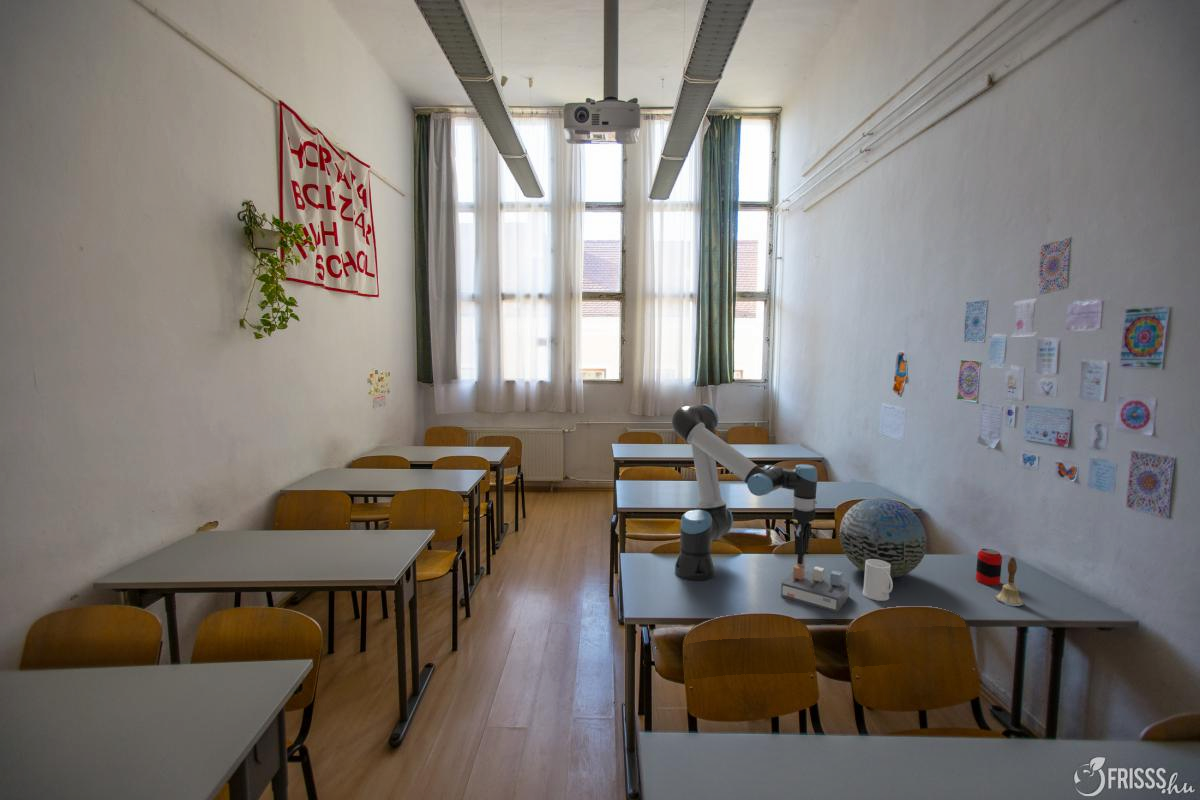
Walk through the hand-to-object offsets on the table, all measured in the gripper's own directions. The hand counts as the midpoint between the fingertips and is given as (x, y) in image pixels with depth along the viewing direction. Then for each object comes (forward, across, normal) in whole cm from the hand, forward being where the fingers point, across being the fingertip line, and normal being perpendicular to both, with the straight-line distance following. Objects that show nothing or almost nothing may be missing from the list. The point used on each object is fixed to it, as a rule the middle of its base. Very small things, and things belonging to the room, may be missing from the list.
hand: (800, 571), depth 203 cm
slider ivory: (+2, 0, -6) cm, 6 cm away
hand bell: (+7, +36, -62) cm, 72 cm away
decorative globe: (+7, +33, -21) cm, 39 cm away
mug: (+7, +11, -24) cm, 27 cm away
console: (+7, -2, -6) cm, 9 cm away
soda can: (+7, +51, -55) cm, 75 cm away
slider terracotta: (+2, -2, 0) cm, 3 cm away
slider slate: (+1, 0, -12) cm, 12 cm away
